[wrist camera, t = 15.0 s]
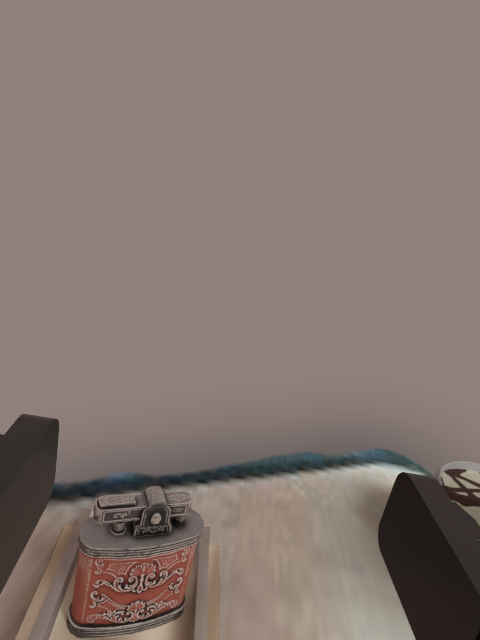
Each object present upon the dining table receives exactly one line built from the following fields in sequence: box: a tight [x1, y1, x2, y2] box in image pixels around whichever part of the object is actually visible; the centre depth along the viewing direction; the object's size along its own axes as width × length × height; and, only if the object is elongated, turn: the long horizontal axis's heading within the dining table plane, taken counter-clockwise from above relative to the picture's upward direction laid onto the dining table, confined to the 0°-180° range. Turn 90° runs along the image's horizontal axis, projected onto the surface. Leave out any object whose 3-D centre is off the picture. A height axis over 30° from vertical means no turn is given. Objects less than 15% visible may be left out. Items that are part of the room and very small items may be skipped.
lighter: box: [67, 486, 204, 639], centre depth 30 cm, size 8×3×10 cm, turn 112°
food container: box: [433, 461, 480, 526], centre depth 43 cm, size 12×6×10 cm, turn 81°
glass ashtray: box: [15, 509, 219, 640], centre depth 31 cm, size 13×14×3 cm
